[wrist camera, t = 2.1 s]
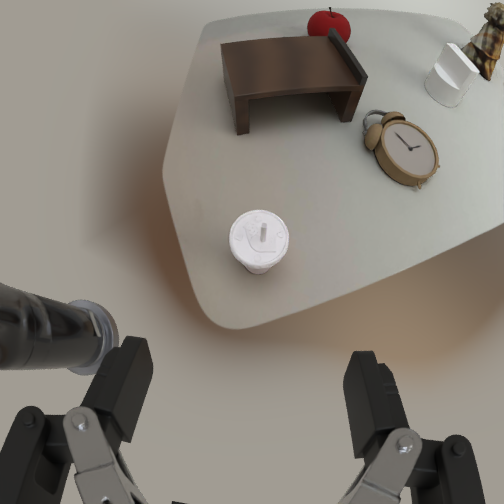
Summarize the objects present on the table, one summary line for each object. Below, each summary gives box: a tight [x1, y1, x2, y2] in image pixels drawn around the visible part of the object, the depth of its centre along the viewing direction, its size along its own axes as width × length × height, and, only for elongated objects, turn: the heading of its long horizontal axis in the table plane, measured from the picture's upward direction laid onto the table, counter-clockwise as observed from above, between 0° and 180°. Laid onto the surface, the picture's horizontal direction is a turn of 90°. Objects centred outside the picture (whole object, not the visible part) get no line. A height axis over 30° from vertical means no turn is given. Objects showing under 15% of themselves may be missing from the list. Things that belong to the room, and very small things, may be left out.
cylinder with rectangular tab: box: [425, 43, 480, 108], centre depth 47 cm, size 9×9×12 cm
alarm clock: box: [363, 110, 440, 189], centre depth 45 cm, size 11×5×15 cm
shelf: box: [220, 28, 368, 135], centre depth 45 cm, size 20×14×11 cm
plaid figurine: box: [461, 3, 504, 81], centre depth 47 cm, size 14×14×25 cm
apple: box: [307, 7, 351, 43], centre depth 51 cm, size 9×9×10 cm
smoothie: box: [229, 210, 289, 274], centre depth 35 cm, size 6×6×14 cm
